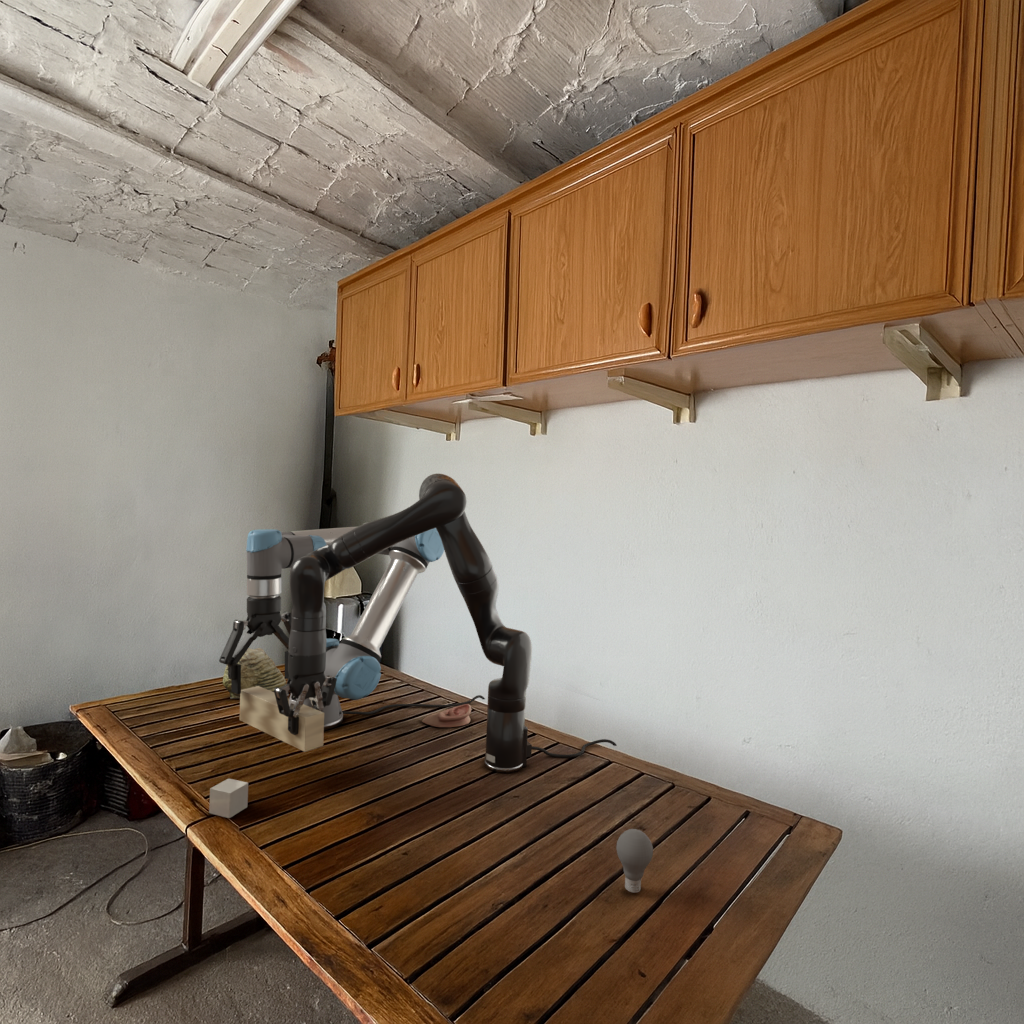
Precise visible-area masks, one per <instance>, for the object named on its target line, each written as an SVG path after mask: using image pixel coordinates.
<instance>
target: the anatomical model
mask: <svg viewBox="0 0 1024 1024" xmlns="http://www.w3.org/2000/svg"><path fill="white" fill-rule="evenodd" d="M471 713H472V706H471V705H470V703H469V704H464V705H460V706H453V707H449V708H448V709H445V710H442V711H439V712H435V713H432V714H429V715H428V716H425V717H424V718H423V719H421V722H422V723H424V724H426V725H429V726H431V727H436V728H455V727H461V726H465V725H468V724H469V723H470V722H471V716H470V715H471Z"/></svg>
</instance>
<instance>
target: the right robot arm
mask: <svg viewBox="0 0 1024 1024" xmlns="http://www.w3.org/2000/svg"><path fill="white" fill-rule="evenodd" d="M467 502H468V500H467V496H466V494H465V492H464V490H463V489H462V487H461V486H460V484H459V483H457V481H456V480H455V479H454V478H452V476H449V475H447V474H444V473H432V474H429V475H428V476H427V477H426V478H425V479H423V481H422V483H421V485H420V486H419V491H418V500H417V501H416V502H414V503H413V504H412V505H410V506H408V507H407V508H405V509H403V510H400V511H399V512H396V513H393V514H391V515H388V516H385V517H384V516H383V517H381V518H377V519H374V520H371V521H368V522H367V523H366V522H364V523H365V524H364V523H362V524H360V525H357V526H355V527H356V528H354V529H353V530H351V531H349V532H347V533H345V534H343V535H342V536H340V537H338V538H337V539H335V540H334V541H333V542H331V543H330V544H328V545H325V546H323V547H321V548H319V549H317V550H315V551H313V552H311V553H309V554H307V555H305V556H303V557H301V558H299V559H297V560H296V561H295V562H294V564H293V565H292V567H291V568H290V572H289V593H290V601H291V602H290V603H291V610H290V611H291V612H290V613H291V631H290V635H289V636H288V638H289V650H288V651H289V655H288V673H289V679H287V680H286V685H284V686H282V687H280V688H279V687H276V688H275V689H274V694H275V698H276V702H277V706H278V710H279V713H280V714H283V715H285V716H287V717H288V731H290V733H291V734H293V735H297V734H298V731H299V717H298V715H299V711H300V708H301V706H303V703H304V700H305V699H307V698H309V699H310V700H311V704H312V707H313V708H314V709H316V710H319V711H321V712H322V710H323V708H324V707H325V706H329V705H330V704H331V700H332V696H333V692H334V689H335V685H336V681H337V679H336V678H334V677H332V676H329V675H328V676H325V674H324V671H325V669H326V641H327V640H326V639H327V627H326V626H327V606H326V603H325V582H327V581H328V580H330V579H331V578H333V577H335V576H337V575H339V574H340V573H342V572H343V571H345V570H347V569H352V568H354V567H355V566H358V565H359V564H361V563H363V562H365V561H367V560H369V559H371V558H372V557H374V556H376V555H379V554H378V553H380V552H381V551H383V550H385V549H387V548H389V547H391V546H393V545H395V544H397V543H399V542H402V541H404V540H406V539H408V538H411V537H413V536H416V535H418V534H421V533H423V532H426V531H428V530H431V529H434V528H436V529H437V531H438V533H439V536H440V538H441V541H442V544H443V547H444V554H445V557H446V560H447V563H448V566H449V568H450V571H451V574H452V577H453V579H454V581H455V584H456V586H457V588H458V591H459V592H460V594H461V597H462V598H463V601H464V603H465V605H466V607H467V610H468V612H469V615H470V617H471V619H472V622H473V624H474V628H475V630H476V634H477V637H478V640H479V644H480V646H481V650H482V652H483V654H484V656H485V658H486V659H487V660H488V661H489V662H490V663H492V664H495V665H498V666H501V667H503V670H502V676H501V677H498V678H494V679H492V680H490V681H489V683H488V686H487V710H486V733H485V753H484V766H485V767H486V768H487V769H488V770H490V771H493V772H497V773H514V772H518V771H520V770H521V769H523V768H526V767H527V758H530V757H532V750H533V751H539V752H542V753H543V754H545V755H546V756H549V757H553V758H559V759H569V758H577V757H580V756H582V755H583V754H584V753H585V750H586V748H587V747H590V746H593V745H596V744H600V743H608V744H611V745H612V746H614V747H618V745H617V743H616V742H614V741H613V740H611V739H607V738H603V739H602V738H601V739H597V740H593V741H590V742H587V743H584V744H583V745H582V747H581V749H580V751H579V752H576V753H571V754H558V753H552V752H549V751H547V750H546V749H545V748H543V747H539V746H535V745H534V746H533V744H532V743H531V742H529V741H528V735H529V734H528V733H529V728H528V727H527V726H526V701H527V688H528V687H529V684H530V679H531V669H532V657H533V643H532V639H531V636H530V634H528V632H526V631H523V630H520V629H516V628H515V629H514V628H511V627H508V626H506V625H504V623H503V621H502V619H501V617H500V615H499V612H498V609H497V601H498V600H497V599H498V595H499V591H500V590H499V589H500V583H499V578H498V575H497V573H496V571H495V567H494V565H493V562H492V560H491V559H490V556H489V555H488V553H487V551H486V550H485V547H484V545H483V544H482V542H481V541H480V539H479V537H478V536H477V534H476V532H475V531H474V529H473V527H472V526H471V524H470V521H469V519H468V517H467V514H466V508H467ZM322 685H323V689H322V693H321V690H320V689H321V687H322ZM289 692H290V695H289ZM288 698H289V703H288ZM296 698H297V699H298V700H296Z"/></svg>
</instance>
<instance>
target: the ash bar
mask: <svg viewBox="0 0 1024 1024" xmlns="http://www.w3.org/2000/svg"><path fill="white" fill-rule="evenodd" d="M287 698H288V703H289V698H290V697H287ZM298 717H299V731H298V734H297V735H293V734H291V733H290V731H288V717H287V716H285V715H283V714H280V713H279V710H278V706H277V702H276V698H275V694H274V692H272V691H270V690H267V689H265V688H262V687H260V686H256V687H252V688H247V689H243V690H241V694H240V698H239V719H238V720H239V721H240V722H242V723H244V724H247V725H249V726H250V727H252V728H254V729H256V730H259V731H261V732H262V733H264V734H267V735H269V736H271V737H273V738H275V739H278V740H279V741H281V742H283V743H285V744H287V745H290V746H291V747H294V748H296V749H298V750H299V751H302V752H304V753H306V752H308V751H311V750H315V749H317V748H320V747H323V746H324V739H325V738H324V737H325V736H324V735H325V734H324V733H325V731H324V712H321V711H319V710H316V709H314V708H311V707H309V706H306V705H304V704H303V706H301V708H300V711H299V715H298Z"/></svg>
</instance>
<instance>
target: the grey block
mask: <svg viewBox="0 0 1024 1024" xmlns="http://www.w3.org/2000/svg"><path fill="white" fill-rule="evenodd" d="M248 801H249V782H247V781H242V780H237V779H233V778H227V779H225V780H223V781H221V782H219V783H217V784H216V785H214V786H212V787H210V788H209V806H208V811H209V812H208V813H209V814H210V815H215V816H218V817H223V818H227V819H231V818H233V817H234V816H235V815H237V814H239V813H241V812H242V811H244V810H245V809H247V808H248V803H249V802H248Z"/></svg>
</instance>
